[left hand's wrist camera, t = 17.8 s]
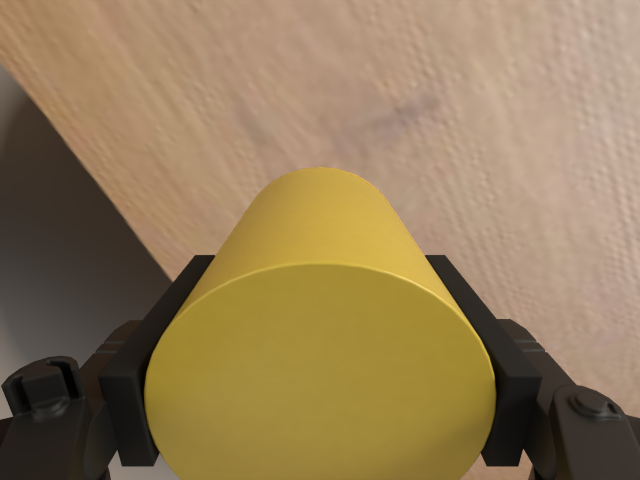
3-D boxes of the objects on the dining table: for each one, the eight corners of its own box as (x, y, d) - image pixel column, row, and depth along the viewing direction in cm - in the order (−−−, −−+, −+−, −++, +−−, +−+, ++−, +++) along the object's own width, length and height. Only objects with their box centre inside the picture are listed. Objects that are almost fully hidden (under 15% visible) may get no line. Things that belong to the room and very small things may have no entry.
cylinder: (230, 301, 19) (137, 511, 9) (251, 150, 16) (149, 224, 7) (376, 327, 20) (432, 551, 10) (421, 186, 17) (559, 303, 7)
